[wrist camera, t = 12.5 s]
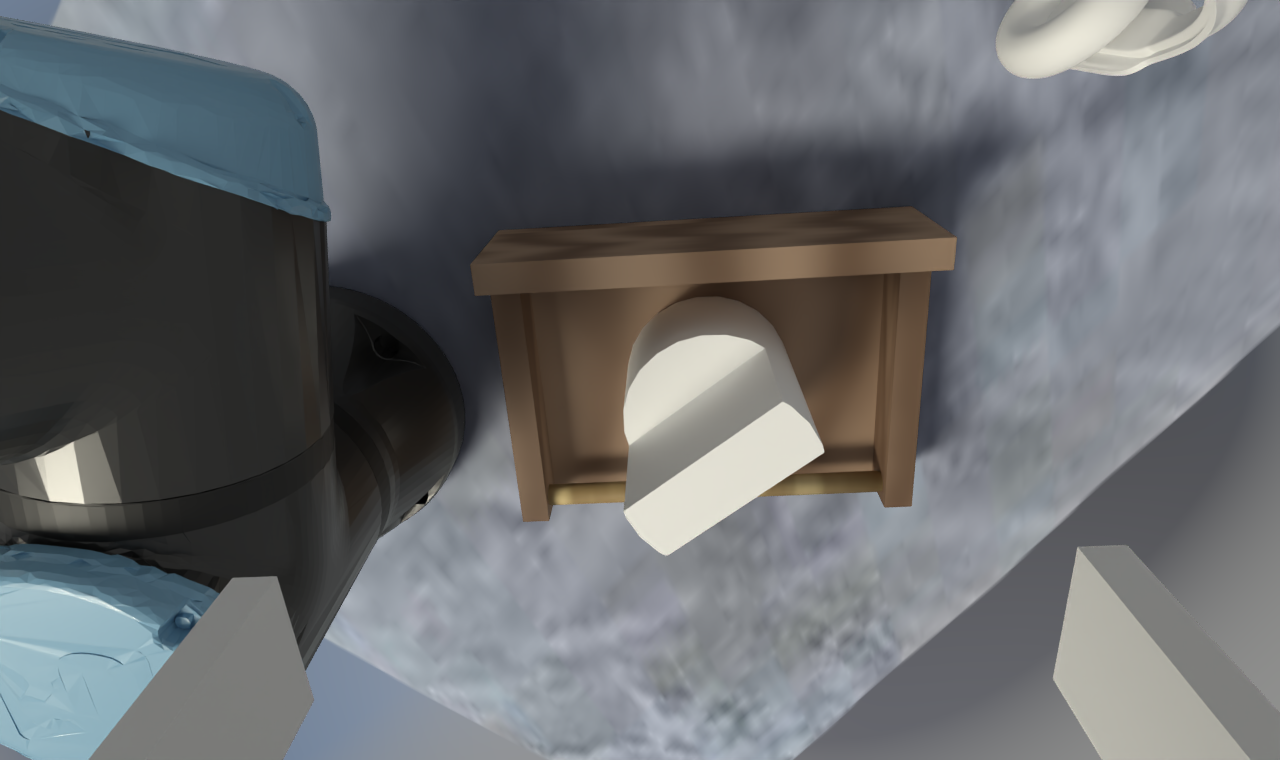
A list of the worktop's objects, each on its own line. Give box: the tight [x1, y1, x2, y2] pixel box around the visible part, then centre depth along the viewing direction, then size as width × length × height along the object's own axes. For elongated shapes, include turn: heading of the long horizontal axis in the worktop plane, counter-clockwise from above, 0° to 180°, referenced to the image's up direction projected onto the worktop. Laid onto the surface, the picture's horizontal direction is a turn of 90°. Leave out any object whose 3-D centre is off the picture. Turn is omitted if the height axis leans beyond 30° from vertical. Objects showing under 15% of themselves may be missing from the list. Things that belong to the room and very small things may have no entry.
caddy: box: [470, 206, 957, 522], centre depth 42 cm, size 22×16×7 cm
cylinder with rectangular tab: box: [623, 296, 824, 556], centre depth 39 cm, size 9×9×12 cm
